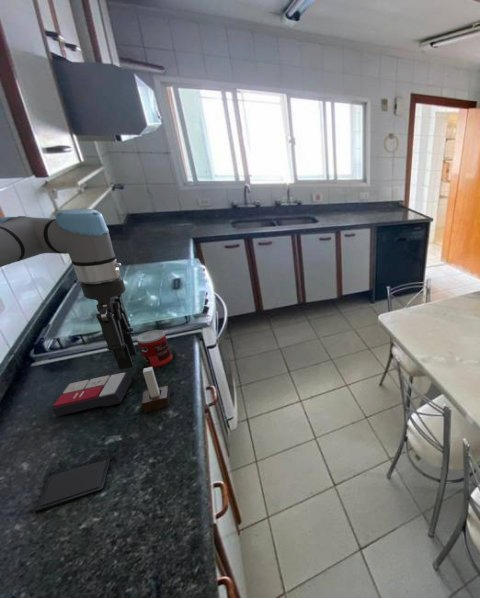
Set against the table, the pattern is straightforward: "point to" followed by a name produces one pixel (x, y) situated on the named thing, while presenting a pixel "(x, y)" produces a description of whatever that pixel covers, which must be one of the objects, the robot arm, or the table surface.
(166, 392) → the pen stand
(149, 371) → the white square rod
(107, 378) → the red grey flat block
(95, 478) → the plate
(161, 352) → the canned food
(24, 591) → the table surface
